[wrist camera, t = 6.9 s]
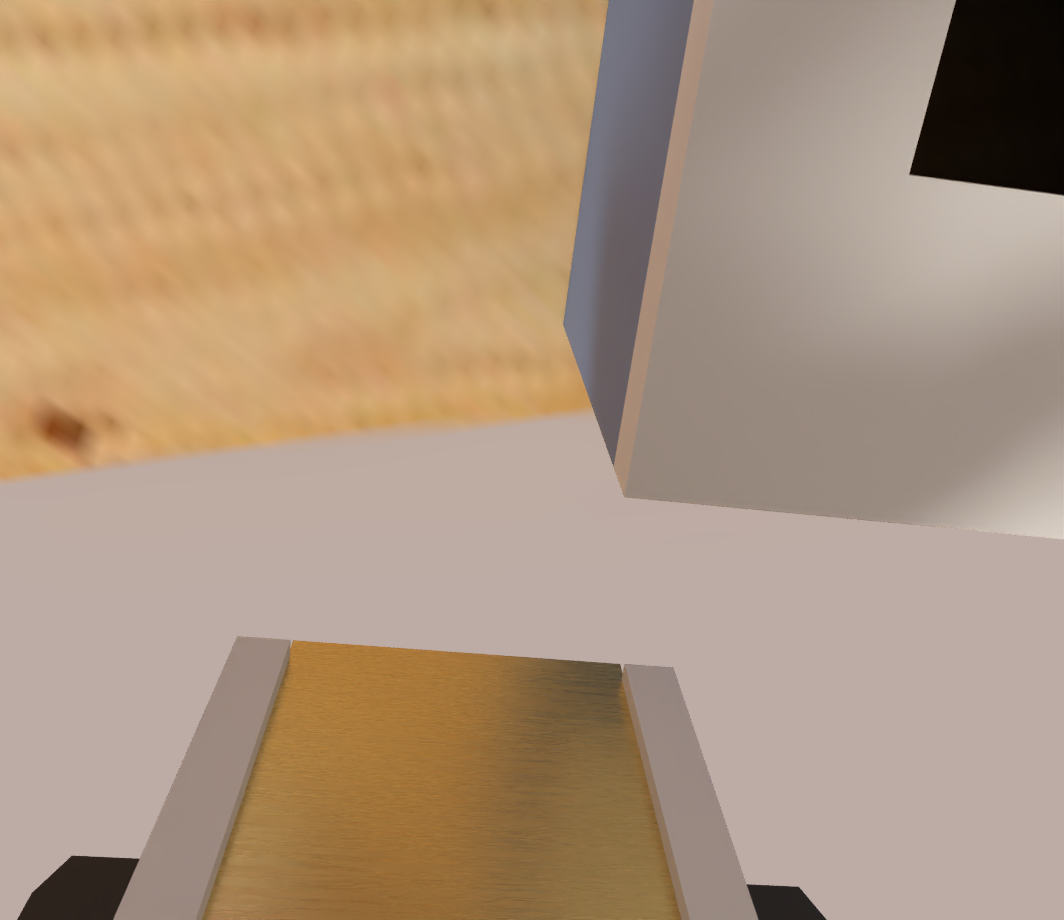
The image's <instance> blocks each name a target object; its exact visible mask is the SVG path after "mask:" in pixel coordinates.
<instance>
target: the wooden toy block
mask: <svg viewBox="0 0 1064 920" xmlns="http://www.w3.org/2000/svg"><path fill="white" fill-rule="evenodd" d="M622 675H623V674H622V670H621V666H620V664H611V663H597V662H584V661H570V660H555V659H542V658H528V657H515V656H500V655H487V654H473V653H460V652H445V651H432V650H418V649H404V648H391V647H377V646H363V645H350V644H349V645H348V644H336V643H322V642H307V641H293V643H292V646H291V648H290V657H289V660H288V663H287V666H286V669H285V672H284V675H283V678H282V681H281V684H280V687H279V690H278V693H277V696H276V699H275V702H274V705H273V708H272V711H271V714H270V717H269V720H268V723H267V726H266V729H265V732H264V735H263V738H262V741H261V744H260V747H259V750H258V753H257V756H256V759H255V762H254V765H253V768H252V771H251V774H250V777H249V780H248V783H247V786H246V789H245V792H244V795H243V798H242V801H241V804H240V807H239V810H238V813H237V816H236V819H235V822H234V825H233V828H232V831H231V834H230V837H229V840H228V843H227V846H226V849H225V852H224V855H223V858H222V861H221V864H220V867H219V870H218V873H217V876H216V879H215V882H214V885H213V888H212V891H211V894H210V897H209V900H208V903H207V906H206V909H205V912H204V915H203V918H202V920H681V916H680V912H679V908H678V904H677V900H676V896H675V892H674V888H673V884H672V880H671V876H670V872H669V868H668V864H667V860H666V855H665V851H664V847H663V843H662V839H661V835H660V831H659V827H658V823H657V819H656V815H655V811H654V807H653V803H652V799H651V795H650V791H649V787H648V783H647V779H646V775H645V771H644V767H643V763H642V759H641V755H640V751H639V747H638V743H637V739H636V735H635V731H634V726H633V722H632V718H631V714H630V710H629V706H628V702H627V698H626V694H625V690H624V686H623V682H622Z"/></svg>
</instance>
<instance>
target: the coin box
mask: <svg viewBox="0 0 1064 920" xmlns="http://www.w3.org/2000/svg"><path fill="white" fill-rule="evenodd" d="M955 2H956V0H609V3H608V10H607V17H606V25H605V32H604V39H603V46H602V53H601V60H600V67H599V74H598V82H597V89H596V96H595V103H594V110H593V117H592V124H591V131H590V138H589V146H588V153H587V160H586V167H585V174H584V181H583V188H582V195H581V202H580V210H579V217H578V224H577V231H576V238H575V245H574V252H573V259H572V267H571V274H570V281H569V288H568V295H567V302H566V309H565V316H564V323H563V325H564V328H565V331H566V334H567V337H568V340H569V342H570V345H571V348H572V351H573V354H574V356H575V359H576V362H577V365H578V368H579V371H580V373H581V376H582V379H583V382H584V385H585V388H586V390H587V393H588V396H589V399H590V402H591V404H592V407H593V410H594V413H595V416H596V419H597V421H598V424H599V427H600V430H601V432H602V435H603V438H604V441H605V444H606V447H607V450H608V452H609V455H610V458H611V461H612V464H613V466H614V469H615V472H616V475H617V478H618V481H619V483H620V486H621V489H622V492H623V495H624V497H628V498H639V499H648V500H659V501H669V502H680V503H690V504H701V505H711V506H722V507H732V508H743V509H753V510H763V511H774V512H785V513H795V514H805V515H816V516H827V517H837V518H847V519H858V520H868V521H879V522H889V523H900V524H910V525H920V526H932V527H941V528H953V529H962V530H973V531H983V532H994V533H1004V534H1015V535H1025V536H1036V537H1047V538H1056V539H1064V195H1061V194H1054V193H1046V192H1039V191H1031V190H1024V189H1016V188H1009V187H1001V186H994V185H986V184H979V183H971V182H964V181H956V180H949V179H941V178H934V177H926V176H919V175H912V174H909V173H910V169H911V165H912V161H913V158H914V154H915V150H916V147H917V143H918V139H919V135H920V132H921V128H922V124H923V121H924V117H925V113H926V109H927V106H928V102H929V98H930V95H931V91H932V87H933V84H934V80H935V76H936V72H937V69H938V65H939V61H940V58H941V54H942V50H943V46H944V43H945V39H946V35H947V32H948V28H949V24H950V20H951V17H952V13H953V9H954V6H955Z"/></svg>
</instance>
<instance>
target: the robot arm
mask: <svg viewBox="0 0 1064 920" xmlns="http://www.w3.org/2000/svg"><path fill="white" fill-rule="evenodd" d="M289 657H290V640H281V639H268V638H255V637H240V636H237V638H236V641H235V643H234V645H233V647H232V650H231V652H230V654H229V657H228V659H227V661H226V663H225V666H224V668H223V670H222V673H221V675H220V677H219V679H218V682H217V684H216V686H215V688H214V691H213V693H212V695H211V698H210V700H209V702H208V705H207V707H206V709H205V711H204V714H203V716H202V718H201V721H200V723H199V725H198V727H197V730H196V732H195V734H194V736H193V739H192V741H191V743H190V746H189V748H188V750H187V752H186V755H185V757H184V759H183V761H182V764H181V766H180V768H179V771H178V773H177V775H176V777H175V780H174V782H173V784H172V787H171V789H170V791H169V793H168V796H167V798H166V801H165V803H164V805H163V807H162V809H161V812H160V814H159V816H158V819H157V821H156V824H155V825H154V828H153V830H152V832H151V834H150V837H149V839H148V841H147V844H146V846H145V848H144V850H143V853H142V855H141V857H140V859H132V858H111V857H110V858H109V857H88V856H71V857H70V858H69V859H68V860H67V861H66V862H65V863H64V864H63V865H62V866H60V867H59V868H58V869H57V870H56V871H55V872H54V873H53V874H52V875H51V876H50V877H49V878H48V879H47V880H45V881H44V882H43V883H42V884H41V885H40V886H39V887H38V888H37V889H36V890H35V891H34V892H33V893H32V894H31V896H30V898H29V900H28V901H27V903H26V905H25V907H24V908H23V910H22V912H21V914H20V916H19V917H18V919H17V920H202V918H203V915H204V912H205V909H206V906H207V903H208V900H209V897H210V894H211V891H212V888H213V885H214V882H215V879H216V876H217V873H218V870H219V867H220V864H221V861H222V858H223V855H224V852H225V849H226V846H227V843H228V840H229V837H230V834H231V831H232V828H233V825H234V822H235V819H236V816H237V813H238V810H239V807H240V804H241V801H242V798H243V795H244V792H245V789H246V786H247V783H248V780H249V777H250V774H251V771H252V768H253V765H254V762H255V759H256V756H257V753H258V750H259V747H260V744H261V741H262V738H263V735H264V732H265V729H266V726H267V723H268V720H269V717H270V714H271V711H272V708H273V705H274V702H275V699H276V696H277V693H278V690H279V687H280V684H281V681H282V678H283V675H284V672H285V669H286V666H287V663H288V660H289ZM622 682H623V686H624V690H625V694H626V698H627V702H628V706H629V710H630V714H631V718H632V722H633V726H634V731H635V735H636V739H637V743H638V747H639V751H640V755H641V759H642V763H643V767H644V771H645V775H646V779H647V783H648V787H649V791H650V795H651V799H652V803H653V807H654V811H655V815H656V819H657V823H658V827H659V831H660V835H661V839H662V843H663V847H664V851H665V855H666V860H667V864H668V868H669V872H670V876H671V880H672V884H673V888H674V892H675V896H676V900H677V904H678V908H679V912H680V916H681V920H826V919H825V917H824V916H823V915H822V914H821V913H820V911H818V909H817V908H816V907H815V906H814V904H813V903H812V902H811V901H810V900H809V898H808V897H807V896H806V895H805V894H804V893H803V891H802V890H801V889H800V888H799V887H790V886H769V885H748V884H746V882H745V879H744V876H743V873H742V870H741V867H740V864H739V861H738V858H737V855H736V852H735V849H734V846H733V843H732V840H731V837H730V834H729V831H728V828H727V825H726V823H725V819H724V817H723V813H722V810H721V807H720V804H719V802H718V799H717V796H716V793H715V790H714V787H713V784H712V781H711V778H710V775H709V772H708V769H707V766H706V763H705V760H704V757H703V754H702V751H701V748H700V745H699V742H698V739H697V737H696V734H695V730H694V727H693V725H692V722H691V719H690V716H689V713H688V710H687V707H686V704H685V701H684V698H683V695H682V692H681V689H680V686H679V683H678V680H677V677H676V674H675V671H674V668H672V667H658V666H644V665H631V664H625V665H624V670H623V675H622Z"/></svg>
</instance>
